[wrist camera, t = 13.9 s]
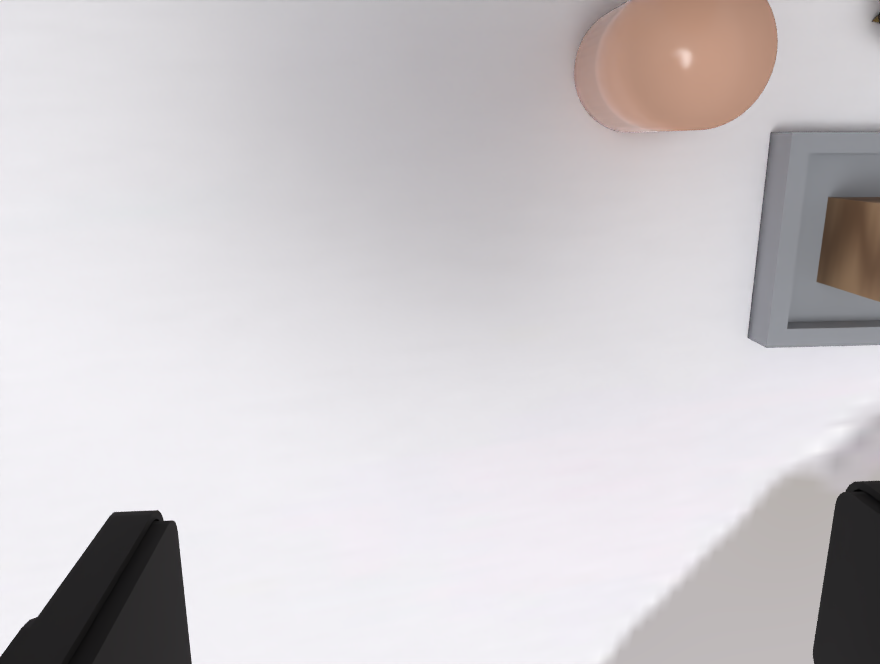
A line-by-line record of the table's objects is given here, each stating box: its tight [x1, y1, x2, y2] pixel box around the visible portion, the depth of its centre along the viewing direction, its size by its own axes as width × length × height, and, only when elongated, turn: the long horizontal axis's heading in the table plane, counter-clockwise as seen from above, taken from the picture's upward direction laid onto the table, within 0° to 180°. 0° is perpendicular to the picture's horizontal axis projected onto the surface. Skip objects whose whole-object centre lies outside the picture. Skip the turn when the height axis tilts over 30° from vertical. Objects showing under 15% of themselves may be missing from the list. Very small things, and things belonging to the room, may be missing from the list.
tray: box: [748, 132, 880, 348], centre depth 38 cm, size 11×11×2 cm
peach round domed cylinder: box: [574, 0, 778, 133], centre depth 32 cm, size 6×6×8 cm
